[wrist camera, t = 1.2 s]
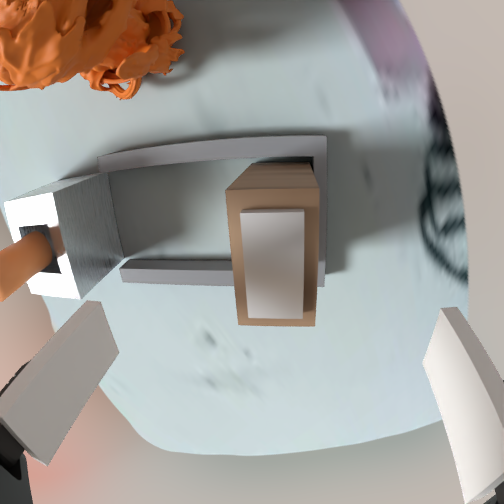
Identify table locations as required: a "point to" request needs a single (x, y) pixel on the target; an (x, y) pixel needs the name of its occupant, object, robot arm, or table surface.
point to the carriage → (275, 243)
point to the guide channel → (216, 150)
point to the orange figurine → (86, 42)
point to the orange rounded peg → (23, 262)
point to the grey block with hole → (70, 233)
